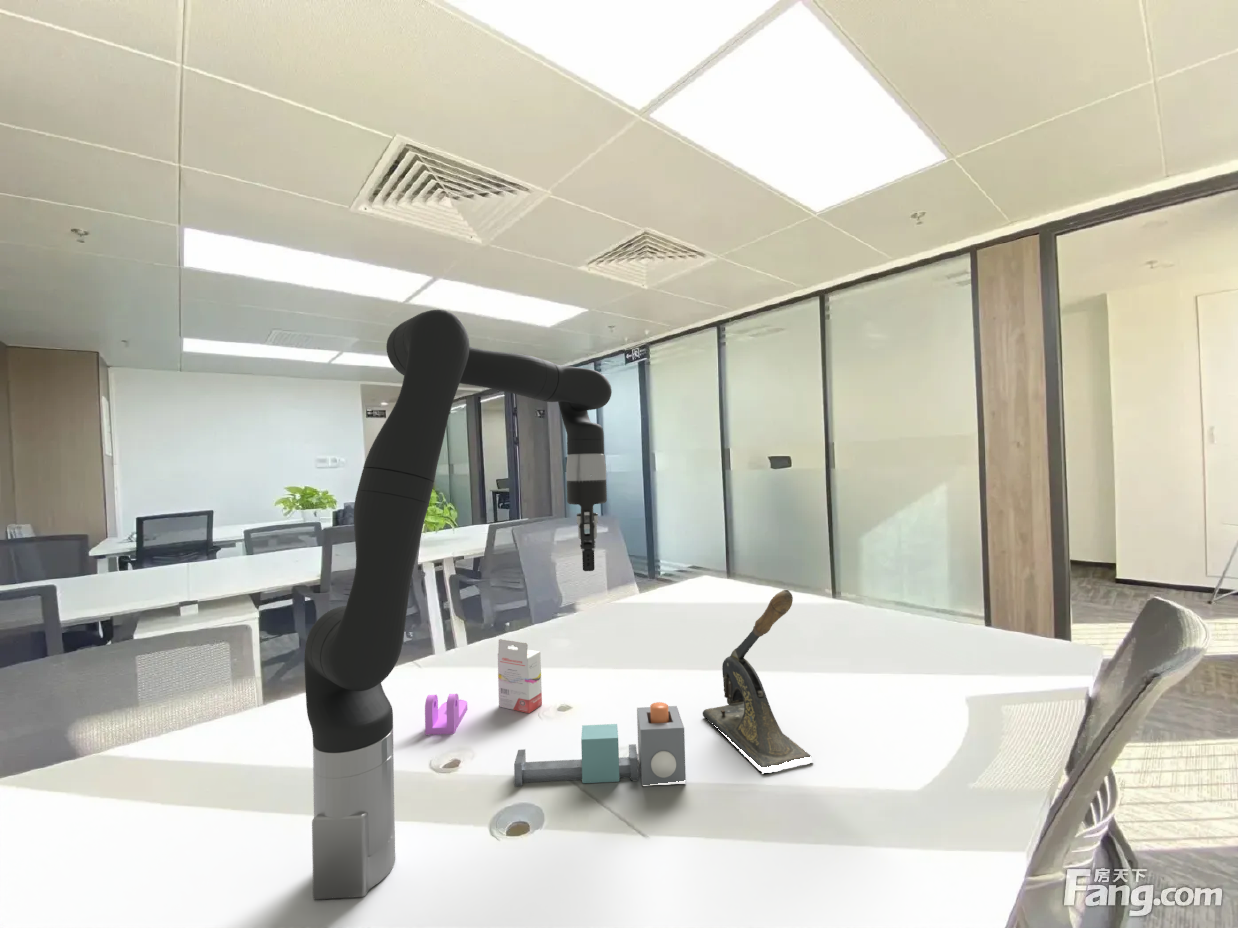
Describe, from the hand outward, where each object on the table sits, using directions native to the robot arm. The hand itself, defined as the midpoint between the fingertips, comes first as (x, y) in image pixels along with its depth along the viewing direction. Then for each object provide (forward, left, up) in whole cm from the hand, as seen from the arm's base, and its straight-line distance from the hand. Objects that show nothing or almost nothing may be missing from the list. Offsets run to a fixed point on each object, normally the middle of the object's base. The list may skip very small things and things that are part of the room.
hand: (588, 570), depth 99 cm
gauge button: (-11, -12, -26) cm, 30 cm away
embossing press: (-2, -30, -32) cm, 44 cm away
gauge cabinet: (-11, -12, -32) cm, 36 cm away
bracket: (+12, +30, -32) cm, 46 cm away
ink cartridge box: (+17, +16, -32) cm, 40 cm away
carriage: (-11, -1, -32) cm, 34 cm away
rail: (-11, +2, -32) cm, 34 cm away
